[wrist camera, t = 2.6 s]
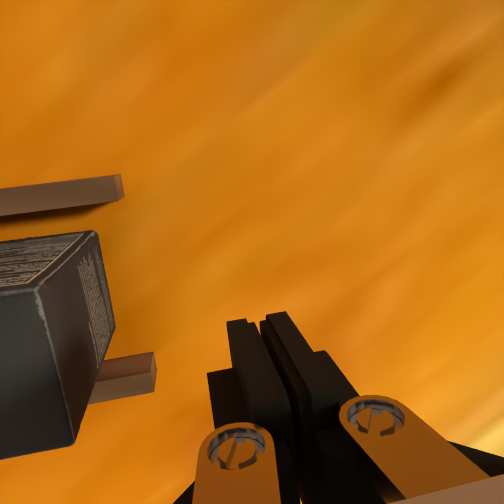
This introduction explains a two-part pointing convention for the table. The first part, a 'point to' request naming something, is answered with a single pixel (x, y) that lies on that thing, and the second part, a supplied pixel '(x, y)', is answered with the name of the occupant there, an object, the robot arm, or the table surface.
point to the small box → (50, 338)
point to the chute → (77, 194)
